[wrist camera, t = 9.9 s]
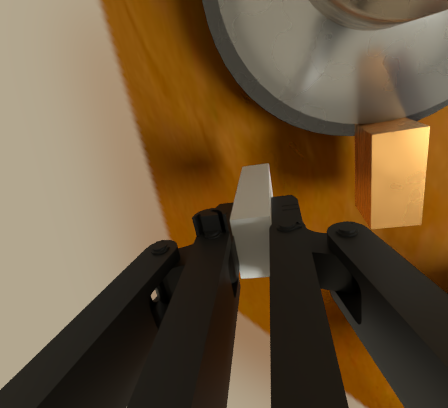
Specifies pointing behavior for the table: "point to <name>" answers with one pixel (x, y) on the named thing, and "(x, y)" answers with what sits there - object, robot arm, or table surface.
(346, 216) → the table surface
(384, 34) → the turntable
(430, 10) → the cover
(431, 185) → the table surface
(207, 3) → the turntable base
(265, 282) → the table surface
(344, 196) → the table surface
